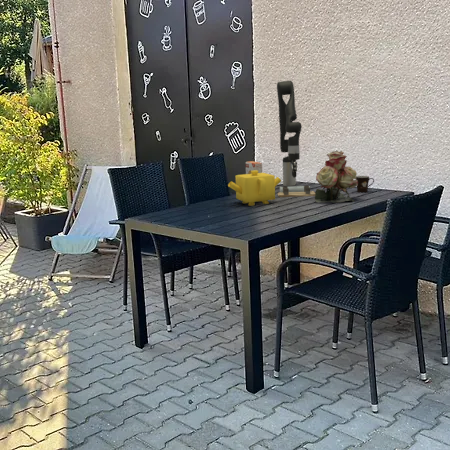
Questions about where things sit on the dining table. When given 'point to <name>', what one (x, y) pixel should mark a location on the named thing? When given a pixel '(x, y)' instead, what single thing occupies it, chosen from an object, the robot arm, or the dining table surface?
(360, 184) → the coffee mug
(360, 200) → the dining table surface
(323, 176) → the rose bouquet
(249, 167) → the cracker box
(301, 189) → the rod
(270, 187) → the yellow boxy teapot
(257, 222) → the dining table surface
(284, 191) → the clip board
